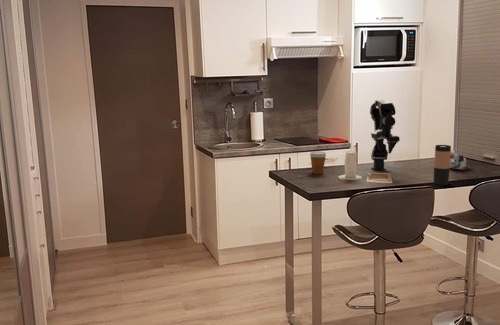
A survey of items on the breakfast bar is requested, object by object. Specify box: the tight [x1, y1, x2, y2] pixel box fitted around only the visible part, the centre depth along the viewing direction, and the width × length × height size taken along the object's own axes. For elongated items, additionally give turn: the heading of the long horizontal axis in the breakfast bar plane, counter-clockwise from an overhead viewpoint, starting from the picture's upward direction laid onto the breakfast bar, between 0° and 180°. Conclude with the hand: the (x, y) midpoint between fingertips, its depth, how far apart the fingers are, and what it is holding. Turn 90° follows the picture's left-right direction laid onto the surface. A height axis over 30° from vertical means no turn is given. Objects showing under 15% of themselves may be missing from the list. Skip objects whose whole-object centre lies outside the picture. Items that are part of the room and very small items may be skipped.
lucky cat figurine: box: [450, 149, 470, 171], centre depth 284 cm, size 15×12×14 cm
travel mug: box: [433, 144, 452, 186], centre depth 246 cm, size 8×8×20 cm
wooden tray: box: [366, 172, 393, 184], centre depth 254 cm, size 13×13×4 cm
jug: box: [344, 150, 358, 178], centre depth 260 cm, size 8×6×14 cm
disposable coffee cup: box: [309, 151, 327, 175], centre depth 278 cm, size 10×10×12 cm
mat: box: [337, 174, 363, 181], centre depth 262 cm, size 13×13×1 cm
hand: (384, 152), depth 269 cm, fingers open, 9 cm apart
